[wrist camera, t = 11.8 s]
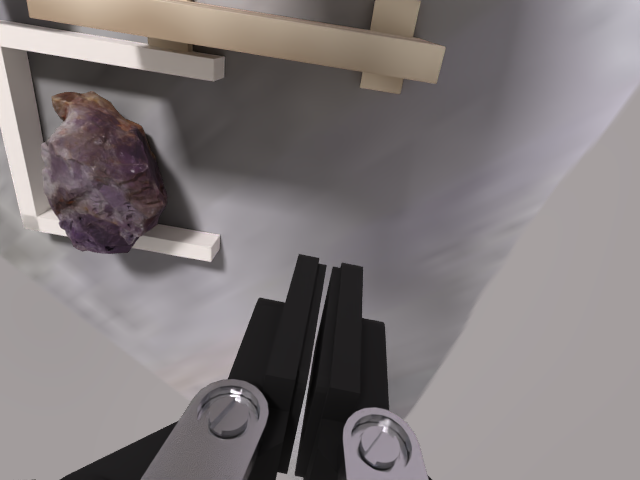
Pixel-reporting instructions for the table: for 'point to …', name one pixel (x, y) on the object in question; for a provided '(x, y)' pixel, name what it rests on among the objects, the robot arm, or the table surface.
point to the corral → (25, 130)
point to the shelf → (268, 34)
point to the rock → (100, 175)
